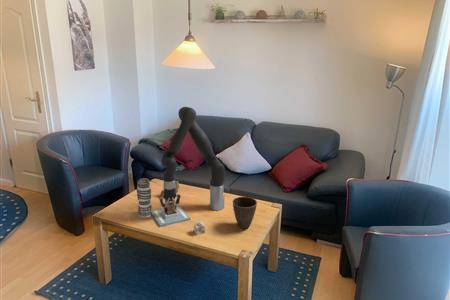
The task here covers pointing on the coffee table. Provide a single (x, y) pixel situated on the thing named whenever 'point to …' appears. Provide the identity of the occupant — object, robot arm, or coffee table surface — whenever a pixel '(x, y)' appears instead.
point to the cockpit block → (199, 228)
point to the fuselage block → (170, 208)
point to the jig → (170, 216)
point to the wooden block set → (176, 188)
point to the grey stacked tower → (144, 197)
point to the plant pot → (244, 210)
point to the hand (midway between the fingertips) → (170, 210)
